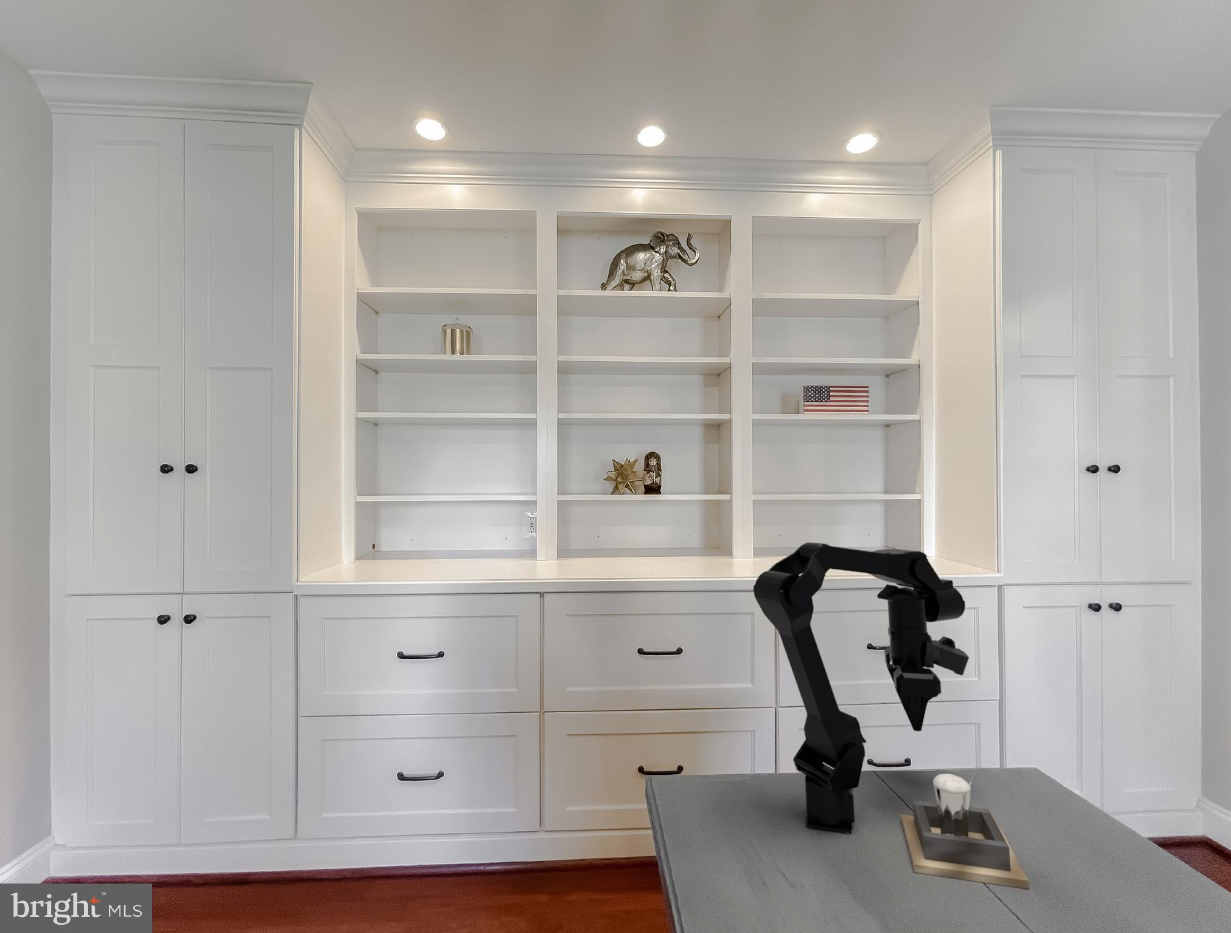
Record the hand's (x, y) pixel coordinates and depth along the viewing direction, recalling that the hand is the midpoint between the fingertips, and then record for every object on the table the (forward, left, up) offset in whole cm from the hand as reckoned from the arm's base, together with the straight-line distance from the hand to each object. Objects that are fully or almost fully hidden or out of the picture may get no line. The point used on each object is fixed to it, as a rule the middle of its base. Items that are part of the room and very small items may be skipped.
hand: (913, 720), depth 100 cm
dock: (+3, -16, -12) cm, 20 cm away
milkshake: (+3, -16, -11) cm, 20 cm away
